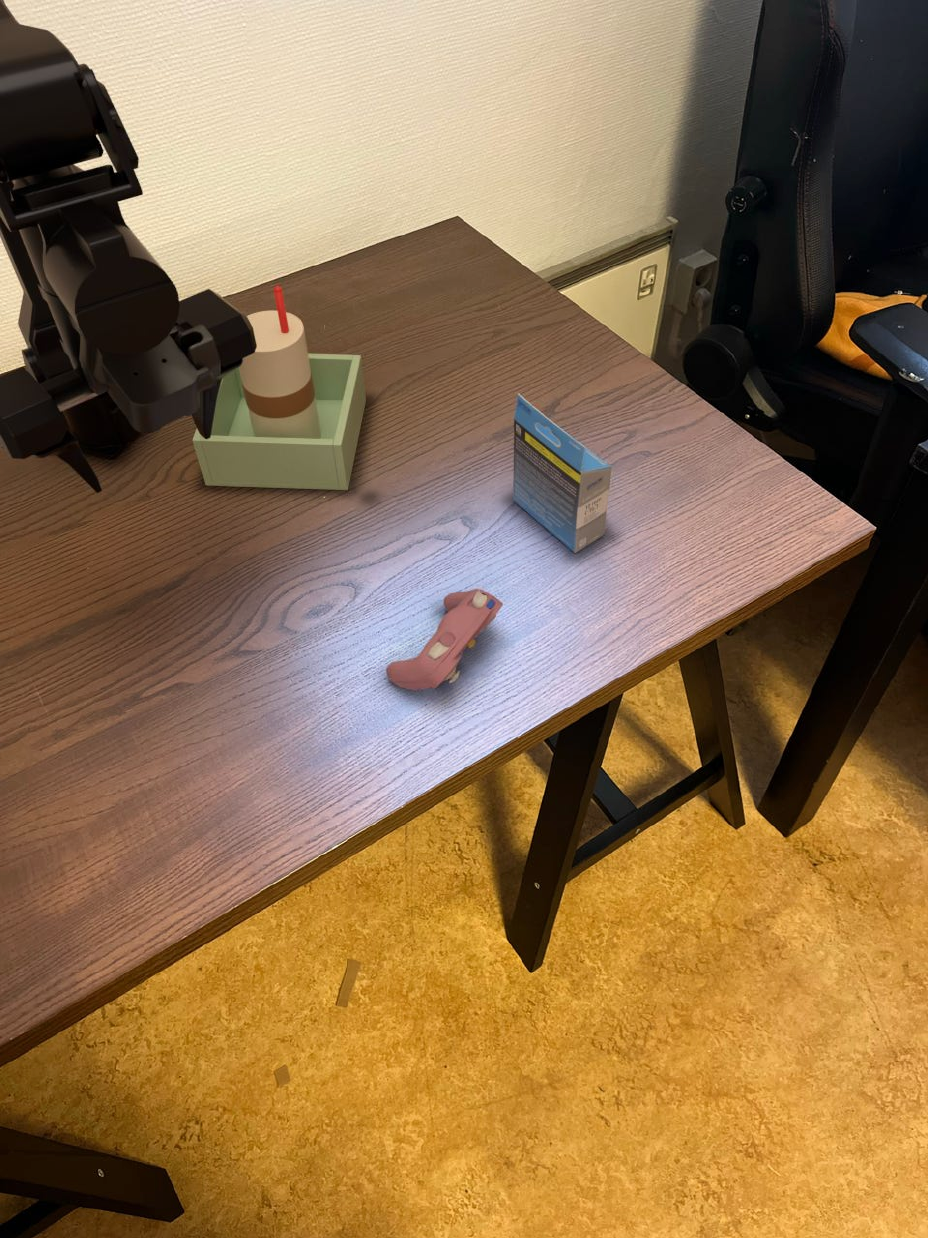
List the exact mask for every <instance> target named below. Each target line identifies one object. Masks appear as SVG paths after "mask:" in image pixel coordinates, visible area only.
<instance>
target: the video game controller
mask: <svg viewBox="0 0 928 1238" xmlns="http://www.w3.org/2000/svg"><path fill="white" fill-rule="evenodd" d="M503 605H504V602H501V600H499V598H497V597H496V596H495V595H493V594H491V593H490V592H488V591H485V590H483V589H479V588H474V589H471V590H467V591H466V590H465V591H454V592H450V593H449V594H447V595H446V596H445V597H444V598H443V606H444V608H445V610H446V613H445V615H444V616H443V617H442V618H441V620H440V622H439V624H438V626H437V629H436V632H435V633H434V634H433V635H432V637H431V638H430V639H429V641H427V643H426V644H425V646H424V647H423V649H422V650H421V651H420V653H419V654H418V655H417V656H415V657H413V658H409V659H404V660H397V661H392V662H391V663H389V664H388V665H387V667H386V676H387V677H388V679H389V681H390V682H391V683H393V684H394V685H396V686H397V687H400V688H403V689H407V690H413V691H414V690H415V691H416V690H417V691H419V690H426V689H427V690H428V689H430V688H432V689H434V690H435V689H436V688H437V687H438V686H439V685H440V684H441V683H443V682H445V681H447V680H449V681H448V684H452V683H454V682H455V681H456V680H457V679H458V678H459V676H460V672H461V671H460V670H457V667H458V664H459V661H460V660H461V658H462V657H463V655H464V654H463V652H464V651H465V649H467V647H468V649H470V648H473V647H474V646H475V644H476V639H475V638H476V637H478V636H479V634H480V633H481V632H482V631H483V630H484V629H486V628H488V627H490V625H491V623H492V622H493V621H494V620H495V618H496V616H497V614H498V613H499V611H500V610H501V608H502V607H503Z"/></svg>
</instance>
